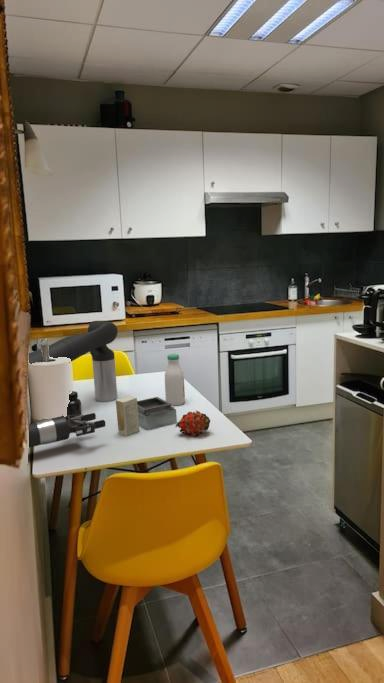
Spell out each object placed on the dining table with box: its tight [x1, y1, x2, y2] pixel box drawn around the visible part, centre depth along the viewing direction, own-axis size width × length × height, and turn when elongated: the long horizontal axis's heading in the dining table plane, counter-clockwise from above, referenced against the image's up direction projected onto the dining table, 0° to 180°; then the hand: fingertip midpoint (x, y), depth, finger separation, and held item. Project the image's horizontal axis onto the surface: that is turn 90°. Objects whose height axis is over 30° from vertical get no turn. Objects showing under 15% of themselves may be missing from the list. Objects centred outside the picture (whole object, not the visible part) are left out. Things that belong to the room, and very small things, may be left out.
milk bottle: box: [164, 353, 186, 407], centre depth 200 cm, size 8×8×20 cm
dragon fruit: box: [175, 410, 211, 437], centre depth 168 cm, size 8×8×12 cm
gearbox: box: [137, 396, 178, 431], centre depth 183 cm, size 16×12×6 cm
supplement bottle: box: [67, 390, 83, 416], centre depth 181 cm, size 7×7×12 cm
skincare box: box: [115, 395, 140, 437], centre depth 171 cm, size 6×4×12 cm
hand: (100, 419), depth 166 cm, fingers open, 8 cm apart
